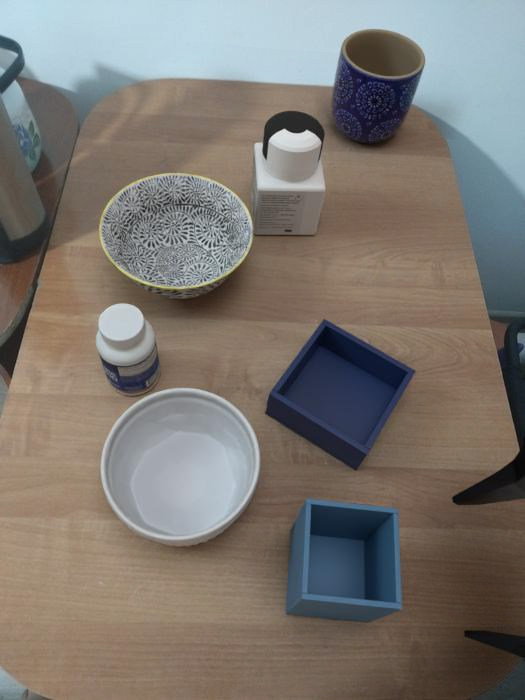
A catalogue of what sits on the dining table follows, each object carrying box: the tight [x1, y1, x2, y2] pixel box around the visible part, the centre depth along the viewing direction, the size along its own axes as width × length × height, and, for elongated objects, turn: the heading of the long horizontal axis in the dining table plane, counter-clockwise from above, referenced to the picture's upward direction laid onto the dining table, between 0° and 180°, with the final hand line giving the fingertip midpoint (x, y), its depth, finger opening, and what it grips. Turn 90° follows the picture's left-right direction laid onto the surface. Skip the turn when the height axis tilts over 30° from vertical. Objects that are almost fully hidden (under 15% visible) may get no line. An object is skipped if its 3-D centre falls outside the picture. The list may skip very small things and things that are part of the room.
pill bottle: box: [95, 303, 161, 397], centre depth 53 cm, size 5×5×10 cm
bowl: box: [98, 172, 255, 300], centre depth 61 cm, size 16×16×8 cm
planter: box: [330, 28, 426, 144], centre depth 76 cm, size 11×11×11 cm
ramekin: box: [99, 387, 262, 548], centre depth 49 cm, size 13×13×7 cm
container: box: [250, 110, 327, 236], centre depth 65 cm, size 8×8×13 cm
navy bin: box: [265, 318, 416, 471], centre depth 56 cm, size 10×10×4 cm
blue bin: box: [285, 498, 403, 624], centre depth 45 cm, size 7×7×10 cm
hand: (459, 563), depth 41 cm, fingers open, 9 cm apart
